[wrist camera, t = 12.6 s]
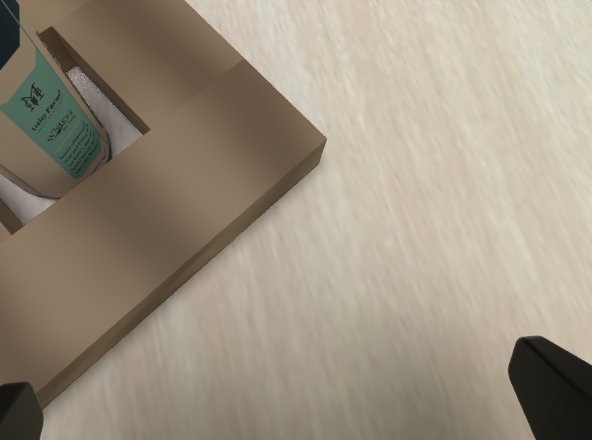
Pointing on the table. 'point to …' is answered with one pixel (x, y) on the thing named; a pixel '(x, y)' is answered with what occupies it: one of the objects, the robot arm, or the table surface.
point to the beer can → (42, 114)
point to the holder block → (141, 183)
